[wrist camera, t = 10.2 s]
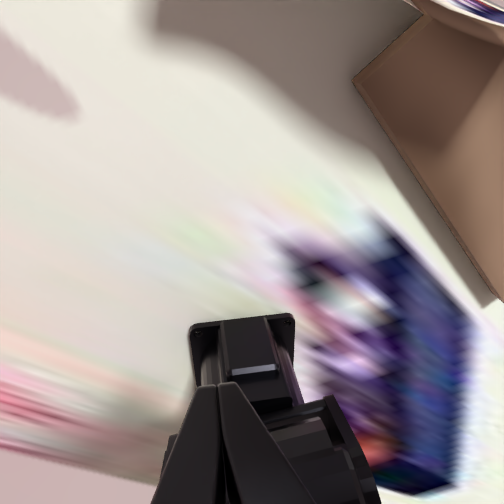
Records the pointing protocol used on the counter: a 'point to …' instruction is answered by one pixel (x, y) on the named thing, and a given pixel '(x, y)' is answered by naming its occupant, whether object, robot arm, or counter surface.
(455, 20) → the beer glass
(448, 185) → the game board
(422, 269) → the counter surface
